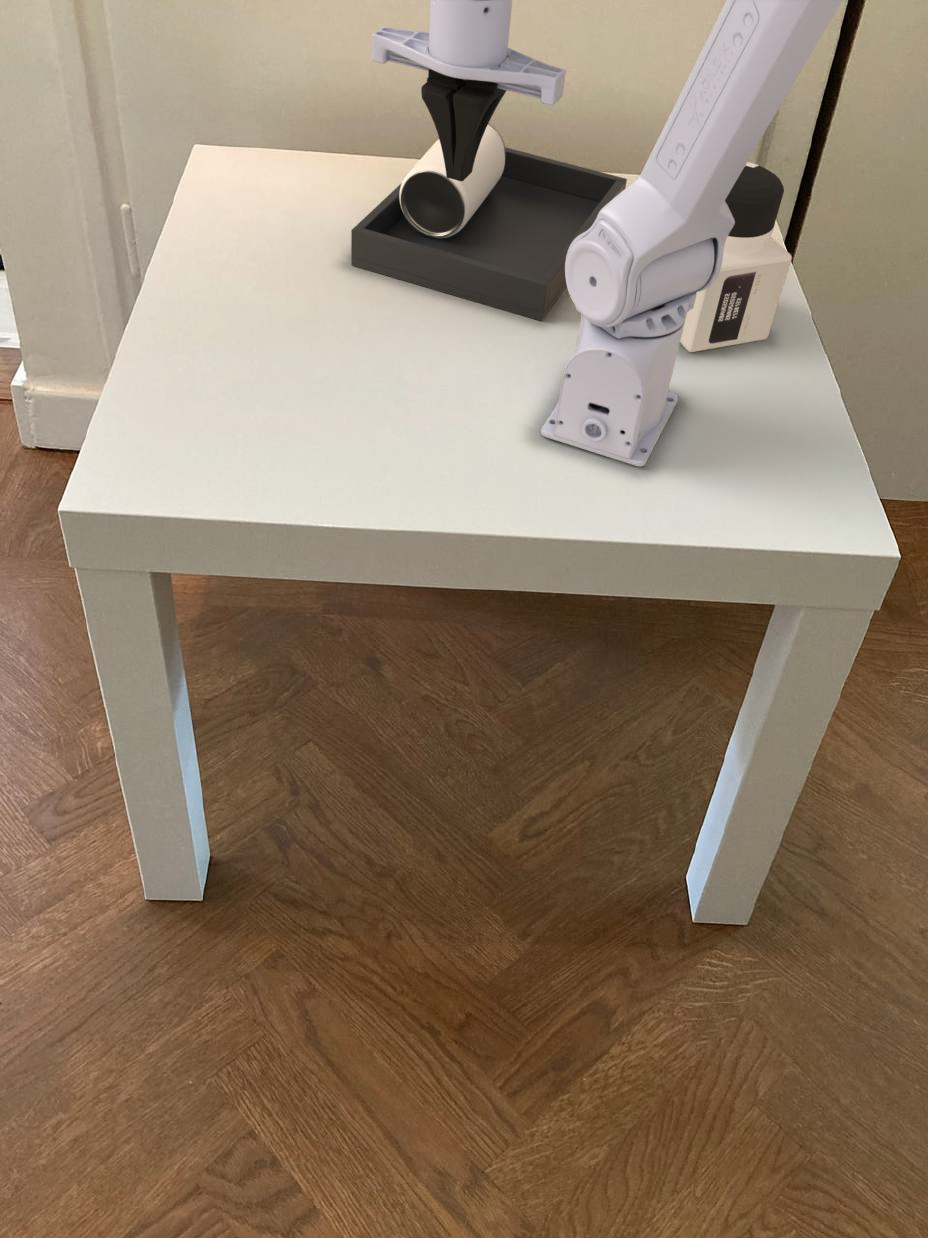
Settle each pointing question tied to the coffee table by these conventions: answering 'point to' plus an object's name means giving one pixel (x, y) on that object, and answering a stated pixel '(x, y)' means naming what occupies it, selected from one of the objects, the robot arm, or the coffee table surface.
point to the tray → (495, 237)
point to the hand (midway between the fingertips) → (459, 174)
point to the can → (450, 188)
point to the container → (743, 269)
